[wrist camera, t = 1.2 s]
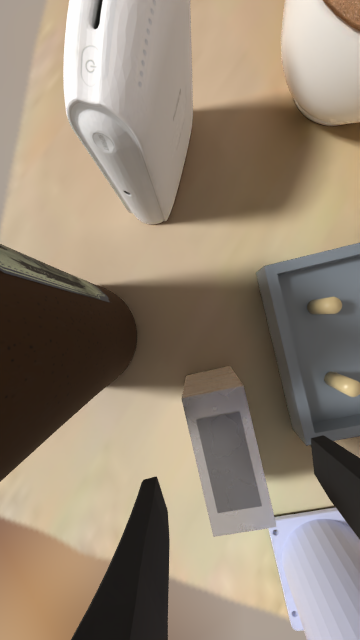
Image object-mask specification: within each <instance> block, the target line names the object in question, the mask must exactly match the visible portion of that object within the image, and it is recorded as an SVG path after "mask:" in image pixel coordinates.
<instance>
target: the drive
mask: <svg viewBox="0 0 360 640" xmlns="http://www.w3.org/2000/svg"><path fill="white" fill-rule="evenodd" d="M182 402H183V407H184V411H185V415H186V420H187V424H188V428H189V433H190V437H191V441H192V446H193V450H194V454H195V459H196V463H197V467H198V472H199V476H200V480H201V485H202V489H203V493H204V498H205V502H206V506H207V511H208V515H209V519H210V523H211V528H212V532H213V536H214V537H215V536H221V535H228V534H234V533H241V532H247V531H254V530H260V529H267V528H273V527H277V526H276V522H275V518H274V513H273V509H272V505H271V501H270V496H269V492H268V488H267V483H266V479H265V475H264V471H263V466H262V462H261V458H260V454H259V449H258V445H257V441H256V437H255V432H254V428H253V424H252V419H251V415H250V411H249V407H248V402H247V398H246V394H245V390H244V386H243V384H242V383H241V381H240V380H239V378H238V377H237V375H236V374H235V372H234V371H233V369H232V368H231V367H230V366H227V367H223V368H218V369H213V370H209V371H204V372H199V373H194V374H190V375H186V379H185V384H184V389H183V394H182Z"/></svg>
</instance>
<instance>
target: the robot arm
mask: <svg viewBox="0 0 360 640" xmlns="http://www.w3.org/2000/svg"><path fill="white" fill-rule="evenodd" d="M311 447H312V456H313V465H314V474H315V476H316V477H317V479H318V481H319V482H320V484H321V486H322V487H323V489H324V491H325V492H326V494H327V495H328V497H329V499H330V500H331V502H332V503H333V504H334V506H335V507H336V508H329V509H323V510H317V511H310V512H304V513H298V514H291V515H285V516H278V517H274V518H275V522H276V526H277V527H273V528H268V529H269V533H270V538H271V542H272V546H273V550H274V555H275V559H276V563H277V568H278V572H279V576H280V580H281V585H282V589H283V593H284V597H285V602H286V606H287V610H288V615H289V619H290V623H291V626H292V628H293V629H294V630H296V631H302V630H304V632H305V634H306V638H307V640H360V458H359V457H357V456H355V455H354V454H352V453H351V452H349V451H348V450H346V449H344V448H343V447H341V446H340V445H338V444H337V443H335V442H334V441H332V440H330V439H329V438H327V437H326V436H324V435H322V436H318V437H314V438H311ZM273 530H277V531H273ZM168 581H169V525H168V511H167V507H166V504H165V501H164V498H163V495H162V492H161V488H160V485H159V482H158V479H157V477H153V478H149V479H145V480H143V482H142V484H141V487H140V490H139V493H138V496H137V499H136V502H135V504H134V507H133V510H132V512H131V515H130V518H129V520H128V523H127V525H126V528H125V530H124V533H123V535H122V538H121V540H120V542H119V545H118V547H117V549H116V552H115V554H114V556H113V558H112V561H111V563H110V565H109V567H108V570H107V572H106V574H105V576H104V578H103V580H102V582H101V584H100V586H99V588H98V590H97V592H96V594H95V596H94V598H93V600H92V602H91V604H90V606H89V608H88V610H87V611H86V613H85V615H84V617H83V619H82V621H81V622H80V624H79V626H78V628H77V630H76V632H75V633H74V635H73V637H72V639H71V640H168V622H167V621H168Z"/></svg>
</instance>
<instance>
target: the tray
mask: <svg viewBox="0 0 360 640" xmlns="http://www.w3.org/2000/svg"><path fill="white" fill-rule="evenodd" d="M256 276H257V280H258V284H259V288H260V293H261V297H262V301H263V305H264V310H265V314H266V318H267V322H268V327H269V331H270V335H271V339H272V343H273V348H274V352H275V356H276V360H277V365H278V369H279V373H280V377H281V382H282V386H283V390H284V394H285V399H286V403H287V407H288V411H289V416H290V420H291V424H292V428H293V430H294V431H295V433H296V434H297V435H298V436H299V437H300V439H301V440H302V441H303V442H304V443H305V444H306V446H307V445H311V438H314V437H318V436H322V435H324V436H326V437H327V438H329V439H330V440H332V441H335V440H341V439H346V438H352V437H358V436H360V243H357V244H353V245H349V246H345V247H341V248H336V249H332V250H328V251H324V252H320V253H316V254H312V255H308V256H304V257H300V258H296V259H291V260H287V261H283V262H279V263H275V264H271V265H267V266H264V267H263V268H261V269H260V270H259V271H257V272H256Z"/></svg>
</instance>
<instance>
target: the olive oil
mask: <svg viewBox="0 0 360 640" xmlns="http://www.w3.org/2000/svg"><path fill="white" fill-rule="evenodd" d="M136 343H137V331H136V325H135V321H134V318H133V316H132V314H131V312H130V310H129V308H128V307H127V305H126V304H125V303H124V302H123V301H122V300H121V299H120V298H119V297H118V296H117V295H115V294H114V293H112V292H111V291H109V290H107V289H105V288H102V287H100V286H97V285H95V284H92V283H90V282H88V281H85V280H83V279H80V278H78V277H75V276H73V275H71V274H68V273H66V272H64V271H61V270H59V269H57V268H54V267H52V266H50V265H47V264H45V263H43V262H40V261H38V260H36V259H34V258H31V257H29V256H27V255H24V254H22V253H20V252H17V251H15V250H13V249H11V248H8V247H6V246H4V245H2V244H0V481H1V480H3V479H4V478H5V477H6V476H7V475H8V474H9V473H10V472H11V471H12V470H14V469H15V468H16V467H17V466H18V465H19V464H20V463H21V462H22V461H23V460H24V459H26V458H27V457H28V456H29V455H30V454H31V453H32V452H33V451H34V450H35V449H36V448H38V447H39V446H40V445H41V444H42V443H43V442H44V441H45V440H46V439H47V438H49V437H50V436H51V435H52V434H53V433H54V432H55V431H56V430H57V429H59V428H60V427H61V426H62V425H63V424H64V423H65V422H66V421H68V420H69V419H70V418H71V417H72V416H73V415H74V414H75V413H77V412H78V411H79V410H80V409H81V408H82V407H83V406H84V405H85V404H87V403H88V402H89V401H90V400H91V399H92V398H93V397H94V396H96V395H97V394H98V393H99V392H100V391H102V390H103V389H104V388H105V387H106V386H108V385H109V384H110V383H111V382H112V381H114V380H115V379H116V378H117V377H118V376H119V375H120V374H121V373H122V372H123V371H124V370H125V369H126V368H127V366H128V365H129V363H130V361H131V360H132V357H133V355H134V352H135V348H136Z"/></svg>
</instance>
